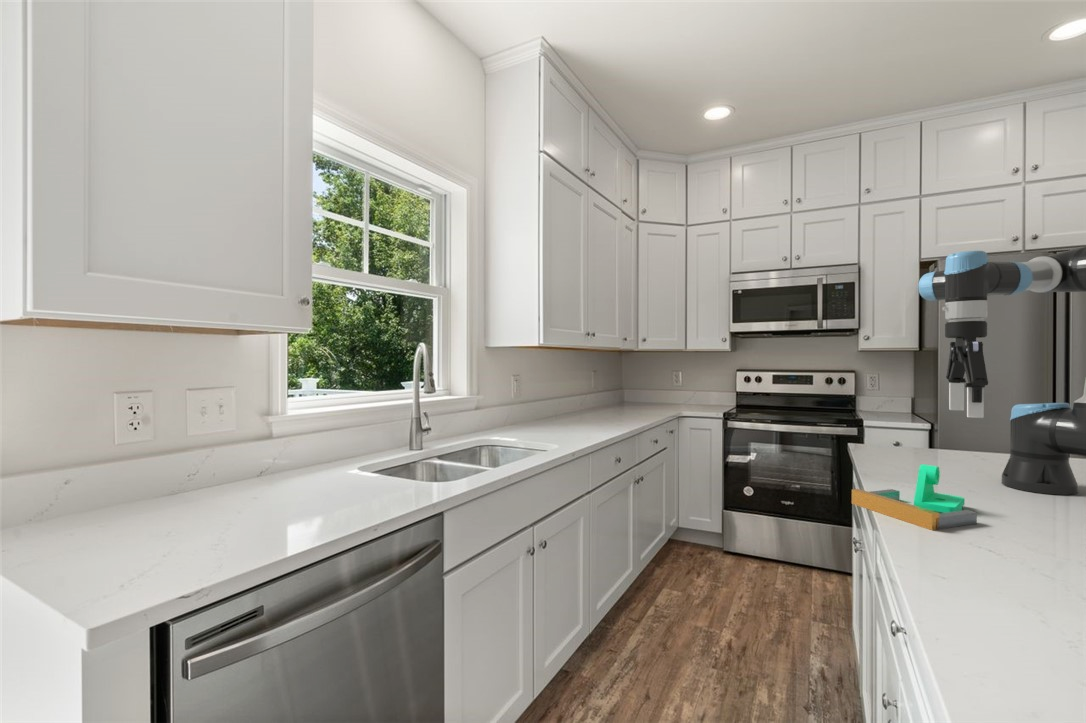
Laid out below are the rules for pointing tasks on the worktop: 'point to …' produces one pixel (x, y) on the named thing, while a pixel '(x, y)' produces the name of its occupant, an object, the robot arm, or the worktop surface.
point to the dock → (910, 510)
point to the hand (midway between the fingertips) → (965, 413)
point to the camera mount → (934, 500)
